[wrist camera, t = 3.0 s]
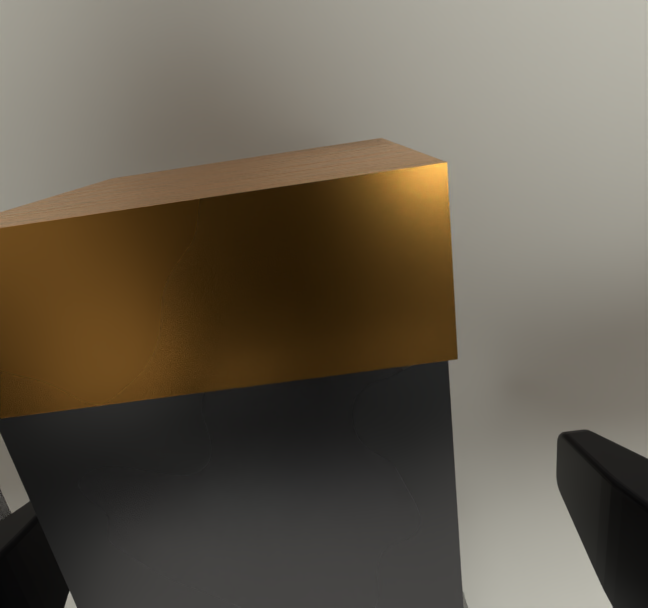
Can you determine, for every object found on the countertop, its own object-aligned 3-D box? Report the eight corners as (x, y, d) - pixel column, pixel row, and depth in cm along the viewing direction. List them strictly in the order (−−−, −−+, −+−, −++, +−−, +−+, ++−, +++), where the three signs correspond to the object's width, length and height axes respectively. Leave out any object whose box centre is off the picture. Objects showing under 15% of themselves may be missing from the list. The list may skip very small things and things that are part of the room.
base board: (172, 826, 16) (167, 851, 16) (-593, -912, 5) (-703, -1036, 5) (607, 786, 16) (618, 811, 15) (804, -1280, 5) (871, -1475, 4)
